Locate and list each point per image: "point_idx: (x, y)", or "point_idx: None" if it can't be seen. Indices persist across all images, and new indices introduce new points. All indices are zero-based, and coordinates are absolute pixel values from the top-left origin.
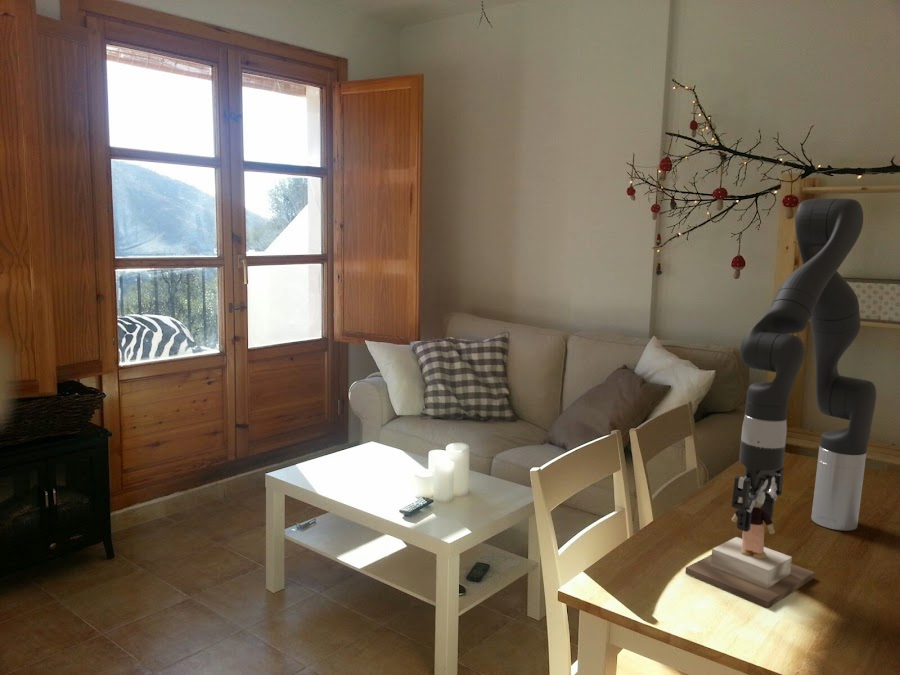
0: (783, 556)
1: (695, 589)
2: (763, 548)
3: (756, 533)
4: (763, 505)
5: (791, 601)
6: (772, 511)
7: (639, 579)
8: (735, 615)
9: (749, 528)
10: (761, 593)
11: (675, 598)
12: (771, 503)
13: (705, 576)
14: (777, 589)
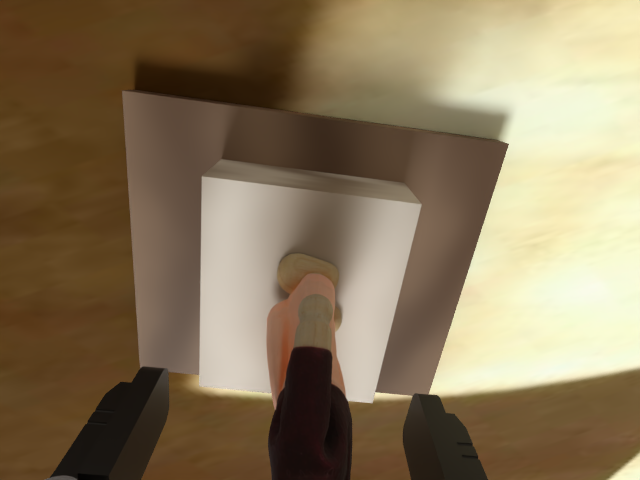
0: (229, 205)
1: (501, 333)
2: (312, 282)
3: (332, 355)
4: (134, 476)
5: (389, 94)
6: (129, 407)
7: (531, 436)
8: (603, 200)
9: (430, 402)
10: (456, 184)
11: (587, 348)
12: (113, 470)
13: (443, 344)
14: (386, 152)
